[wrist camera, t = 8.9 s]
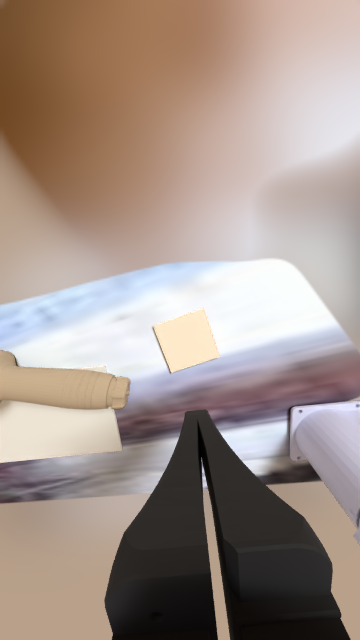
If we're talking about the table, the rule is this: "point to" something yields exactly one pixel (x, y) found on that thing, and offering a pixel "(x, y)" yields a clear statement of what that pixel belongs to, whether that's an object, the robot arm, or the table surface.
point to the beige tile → (187, 340)
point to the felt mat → (55, 430)
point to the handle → (61, 386)
